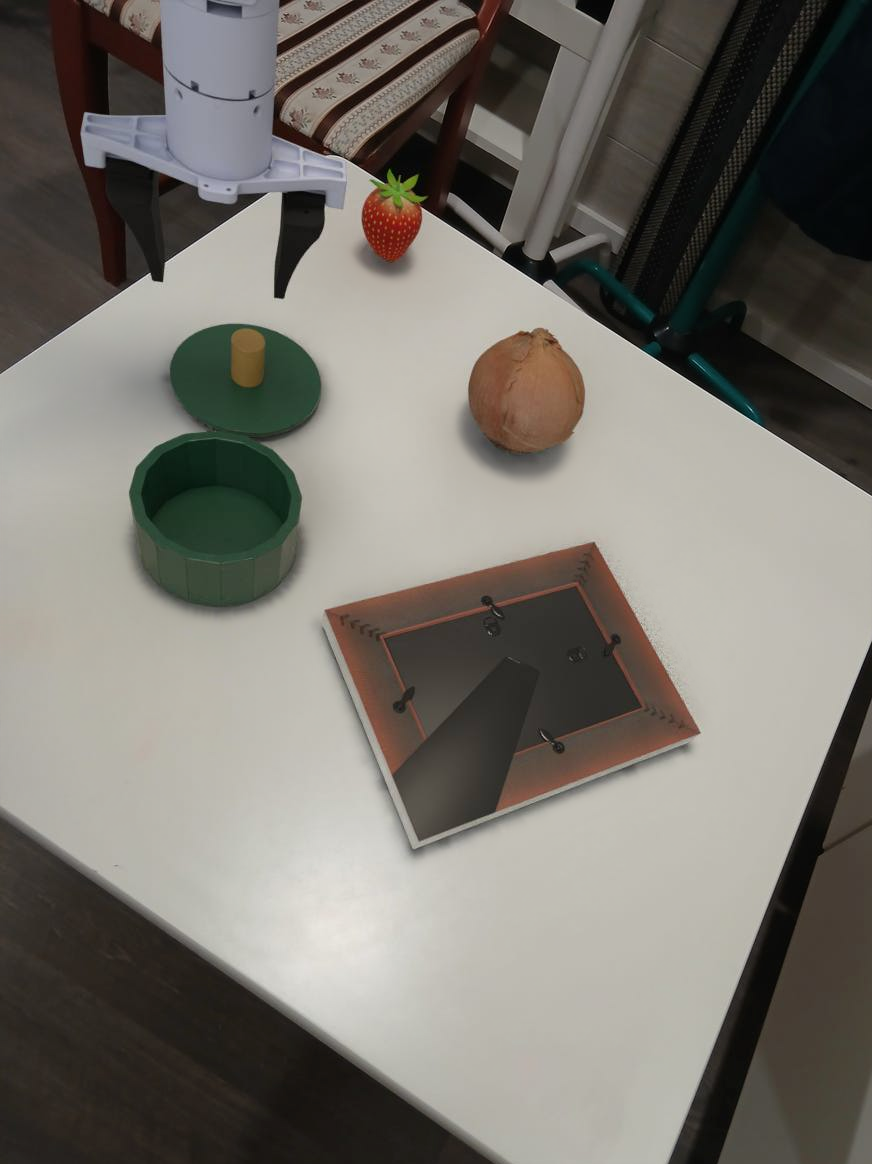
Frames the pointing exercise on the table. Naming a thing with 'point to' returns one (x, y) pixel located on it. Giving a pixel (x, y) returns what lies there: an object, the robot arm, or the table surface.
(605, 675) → the picture frame
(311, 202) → the robot arm
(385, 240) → the fruit
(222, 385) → the tin lid
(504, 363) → the onion
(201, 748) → the table surface
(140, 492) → the tea tin
